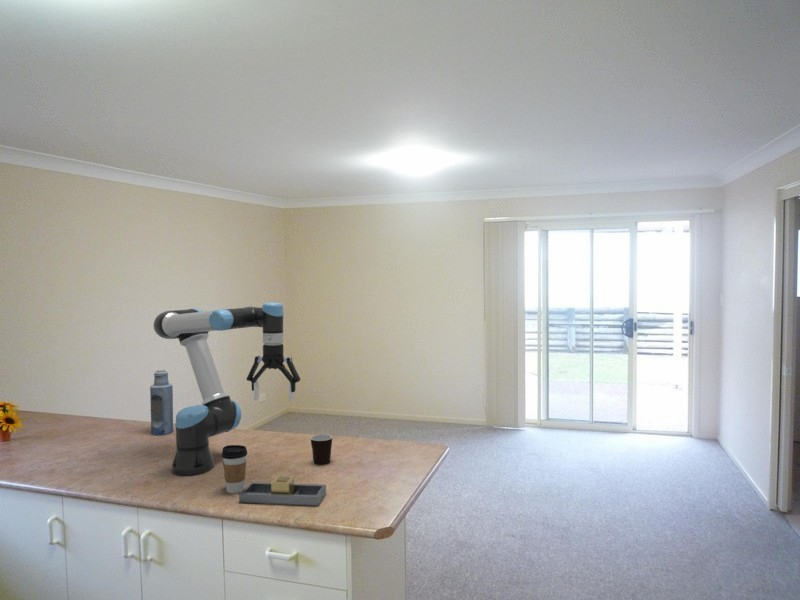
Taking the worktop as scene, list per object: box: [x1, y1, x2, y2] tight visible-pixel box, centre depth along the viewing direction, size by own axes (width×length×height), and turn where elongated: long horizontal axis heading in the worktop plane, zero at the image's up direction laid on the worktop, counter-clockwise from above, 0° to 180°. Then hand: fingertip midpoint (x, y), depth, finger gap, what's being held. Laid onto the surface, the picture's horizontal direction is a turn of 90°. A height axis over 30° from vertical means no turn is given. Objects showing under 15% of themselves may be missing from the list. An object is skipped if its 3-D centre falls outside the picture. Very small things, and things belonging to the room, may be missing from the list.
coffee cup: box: [221, 444, 248, 494], centre depth 183 cm, size 8×8×15 cm
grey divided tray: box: [238, 481, 327, 507], centre depth 176 cm, size 26×10×3 cm, turn 83°
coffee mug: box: [310, 433, 333, 466], centre depth 211 cm, size 12×9×10 cm
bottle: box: [149, 369, 174, 436], centre depth 251 cm, size 10×10×30 cm
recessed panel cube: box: [270, 475, 296, 494], centre depth 176 cm, size 6×6×6 cm
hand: (273, 400), depth 199 cm, fingers open, 13 cm apart
